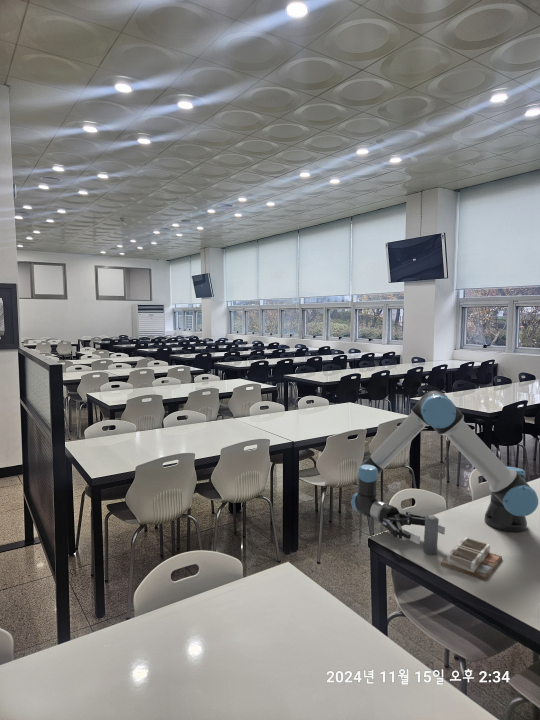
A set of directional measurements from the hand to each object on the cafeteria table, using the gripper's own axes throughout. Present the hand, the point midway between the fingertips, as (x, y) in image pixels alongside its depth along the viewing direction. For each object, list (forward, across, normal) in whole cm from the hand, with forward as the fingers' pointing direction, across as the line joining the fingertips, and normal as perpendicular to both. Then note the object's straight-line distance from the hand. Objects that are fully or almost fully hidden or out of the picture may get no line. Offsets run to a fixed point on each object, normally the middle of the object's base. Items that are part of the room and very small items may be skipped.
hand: (432, 535), depth 161 cm
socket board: (+11, -7, -6) cm, 14 cm away
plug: (-1, 0, -6) cm, 6 cm away
